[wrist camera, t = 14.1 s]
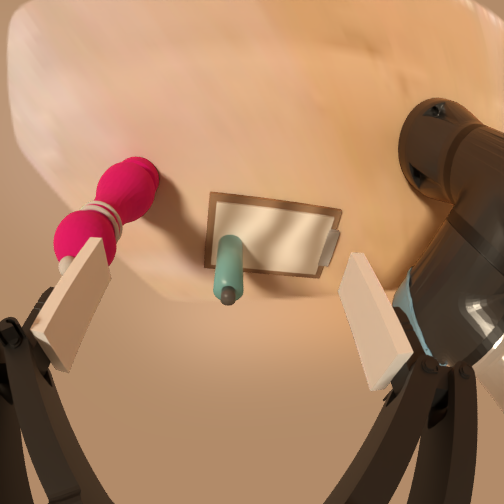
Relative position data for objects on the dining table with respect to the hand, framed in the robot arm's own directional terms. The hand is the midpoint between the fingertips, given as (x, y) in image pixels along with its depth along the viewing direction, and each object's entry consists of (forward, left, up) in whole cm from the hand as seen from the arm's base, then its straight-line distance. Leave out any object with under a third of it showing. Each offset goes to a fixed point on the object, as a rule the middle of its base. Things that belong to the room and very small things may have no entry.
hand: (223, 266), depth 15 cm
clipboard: (-7, +12, -23) cm, 27 cm away
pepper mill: (+12, +5, -23) cm, 27 cm away
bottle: (-1, +13, -22) cm, 26 cm away
